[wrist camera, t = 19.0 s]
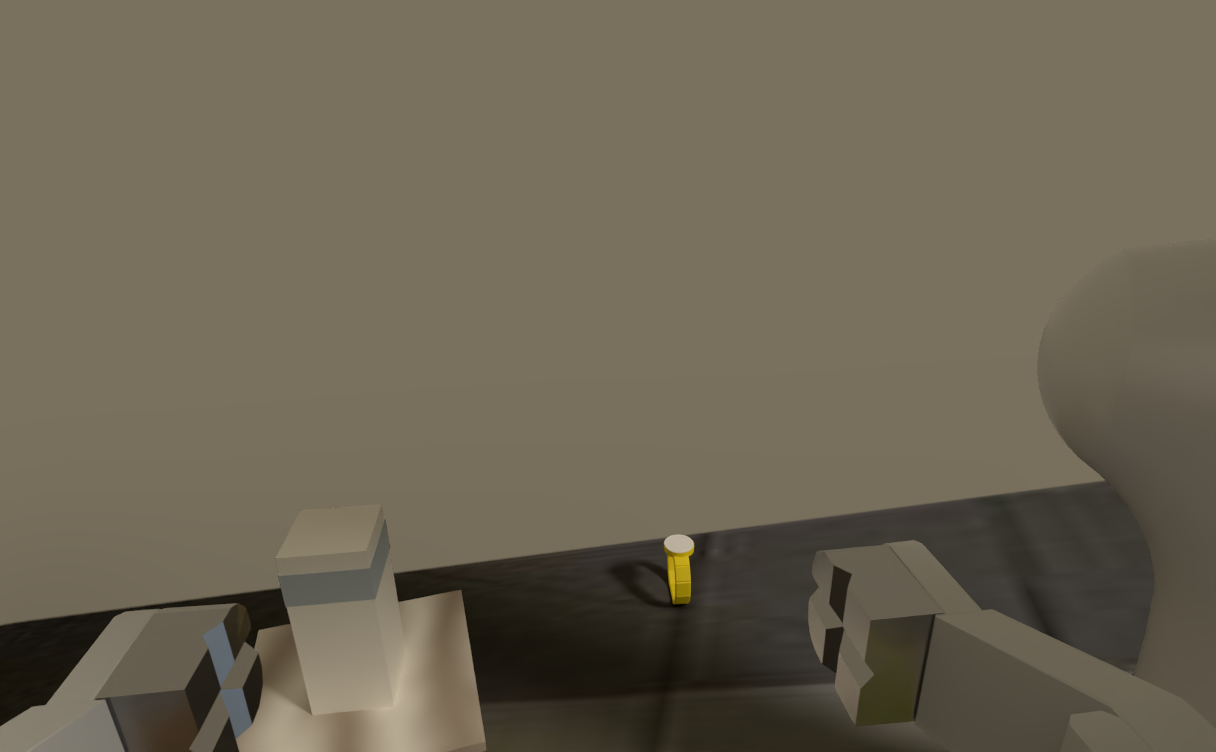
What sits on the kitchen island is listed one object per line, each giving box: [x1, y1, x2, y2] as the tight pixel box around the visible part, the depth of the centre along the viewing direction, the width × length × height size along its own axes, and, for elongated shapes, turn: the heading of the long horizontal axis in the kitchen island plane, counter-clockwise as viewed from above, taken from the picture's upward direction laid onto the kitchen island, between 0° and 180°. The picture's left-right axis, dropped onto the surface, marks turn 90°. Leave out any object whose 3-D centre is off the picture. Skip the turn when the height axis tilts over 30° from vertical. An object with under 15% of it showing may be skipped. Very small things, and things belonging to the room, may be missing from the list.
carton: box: [275, 504, 406, 715], centre depth 49 cm, size 6×6×13 cm
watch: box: [664, 535, 694, 604], centre depth 67 cm, size 6×3×6 cm, turn 3°
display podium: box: [236, 590, 486, 752], centre depth 53 cm, size 16×16×5 cm
